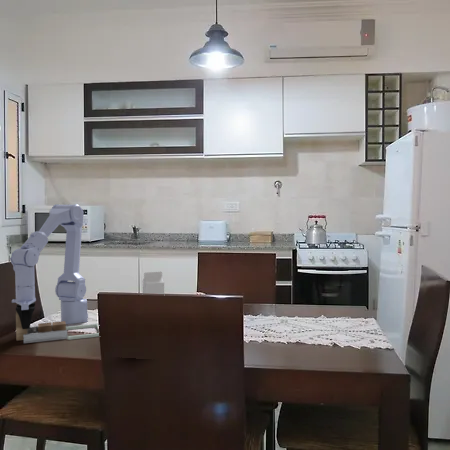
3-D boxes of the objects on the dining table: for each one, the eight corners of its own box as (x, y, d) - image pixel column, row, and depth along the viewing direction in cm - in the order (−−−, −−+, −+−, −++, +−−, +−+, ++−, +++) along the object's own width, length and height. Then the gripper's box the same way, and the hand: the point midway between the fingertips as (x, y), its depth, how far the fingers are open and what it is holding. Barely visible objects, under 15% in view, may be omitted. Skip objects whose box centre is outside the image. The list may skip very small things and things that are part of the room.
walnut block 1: (51, 334, 152) (51, 322, 152) (51, 337, 149) (51, 325, 149) (38, 335, 151) (38, 323, 151) (38, 338, 147) (38, 326, 147)
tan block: (36, 335, 151) (36, 308, 151) (36, 339, 147) (35, 311, 146) (17, 337, 149) (16, 309, 149) (16, 341, 144) (15, 313, 144)
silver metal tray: (65, 332, 157) (65, 323, 157) (67, 340, 148) (67, 330, 148) (24, 336, 152) (24, 327, 152) (23, 345, 143) (23, 335, 143)
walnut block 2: (65, 332, 154) (65, 321, 154) (66, 336, 150) (65, 324, 150) (52, 334, 153) (52, 322, 152) (53, 337, 149) (52, 325, 149)
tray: (98, 328, 163) (98, 323, 162) (103, 338, 150) (102, 333, 150) (65, 331, 158) (65, 326, 158) (67, 342, 146) (67, 337, 146)
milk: (143, 337, 152) (142, 271, 151) (161, 335, 154) (160, 270, 153) (146, 342, 146) (145, 273, 145) (165, 340, 148) (164, 272, 147)
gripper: (12, 282, 152) (13, 322, 153) (10, 290, 139) (11, 334, 139) (35, 281, 155) (36, 320, 156) (35, 288, 141) (36, 332, 142)
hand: (26, 327), depth 148 cm, fingers closed on tan block, 3 cm apart
